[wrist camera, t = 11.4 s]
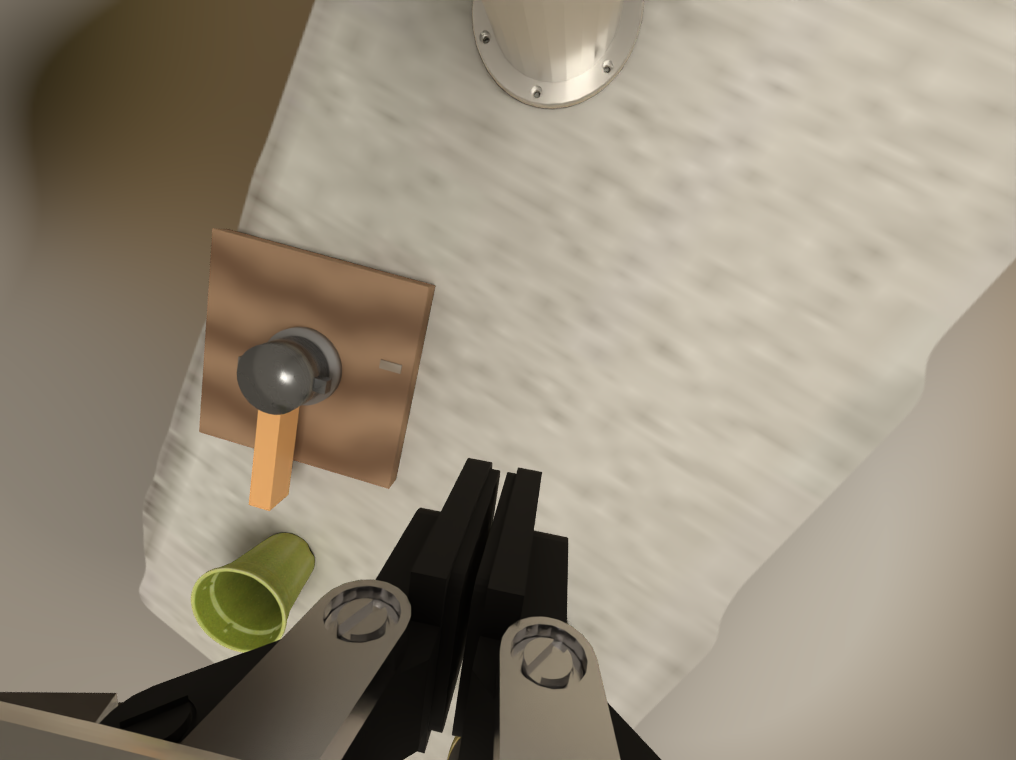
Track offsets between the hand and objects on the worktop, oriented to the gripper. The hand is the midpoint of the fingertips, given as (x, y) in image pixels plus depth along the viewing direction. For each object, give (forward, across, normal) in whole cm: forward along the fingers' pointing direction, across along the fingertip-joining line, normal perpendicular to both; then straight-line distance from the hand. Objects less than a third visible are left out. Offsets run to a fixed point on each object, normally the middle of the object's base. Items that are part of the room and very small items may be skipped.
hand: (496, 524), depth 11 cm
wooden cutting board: (+33, +22, +8) cm, 40 cm away
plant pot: (+33, +24, +31) cm, 51 cm away
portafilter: (+30, +22, +12) cm, 39 cm away
